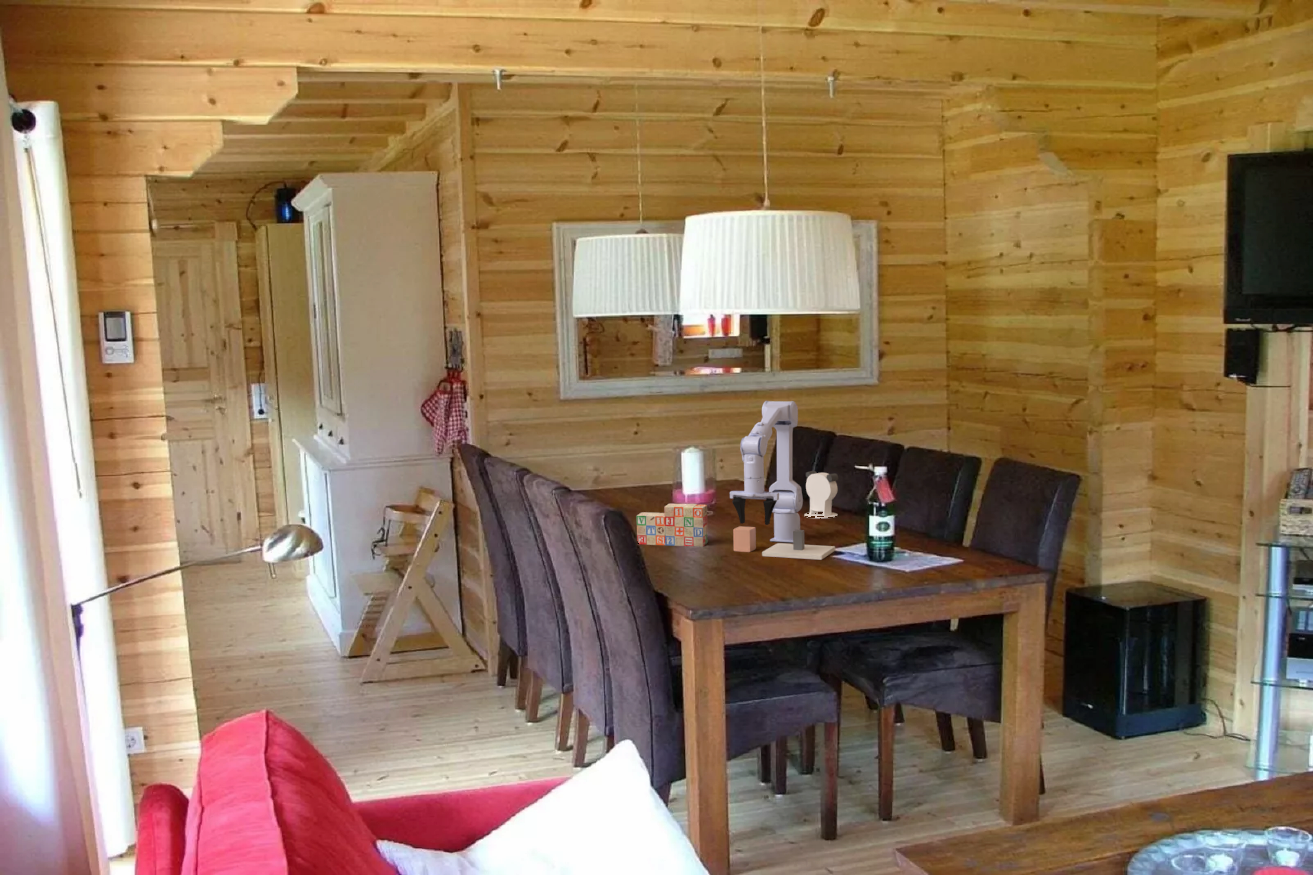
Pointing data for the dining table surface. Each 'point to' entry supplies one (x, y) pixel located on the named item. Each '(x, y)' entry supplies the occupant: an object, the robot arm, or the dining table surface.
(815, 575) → the dining table surface
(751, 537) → the salmon orange block
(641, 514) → the stack of blocks
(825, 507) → the beige rounded figure
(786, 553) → the post board
